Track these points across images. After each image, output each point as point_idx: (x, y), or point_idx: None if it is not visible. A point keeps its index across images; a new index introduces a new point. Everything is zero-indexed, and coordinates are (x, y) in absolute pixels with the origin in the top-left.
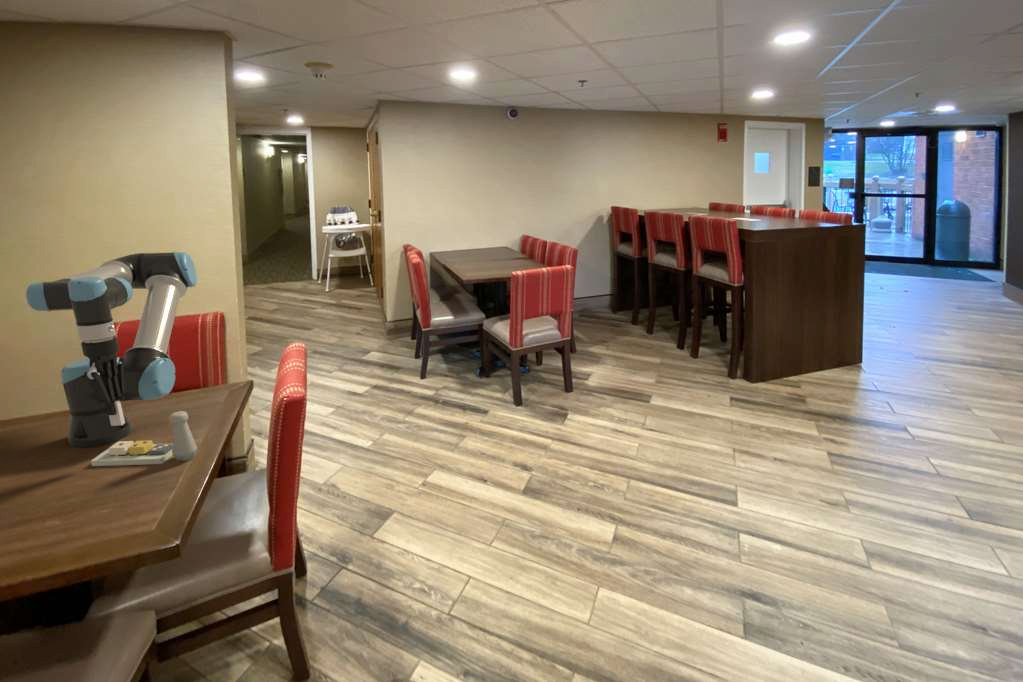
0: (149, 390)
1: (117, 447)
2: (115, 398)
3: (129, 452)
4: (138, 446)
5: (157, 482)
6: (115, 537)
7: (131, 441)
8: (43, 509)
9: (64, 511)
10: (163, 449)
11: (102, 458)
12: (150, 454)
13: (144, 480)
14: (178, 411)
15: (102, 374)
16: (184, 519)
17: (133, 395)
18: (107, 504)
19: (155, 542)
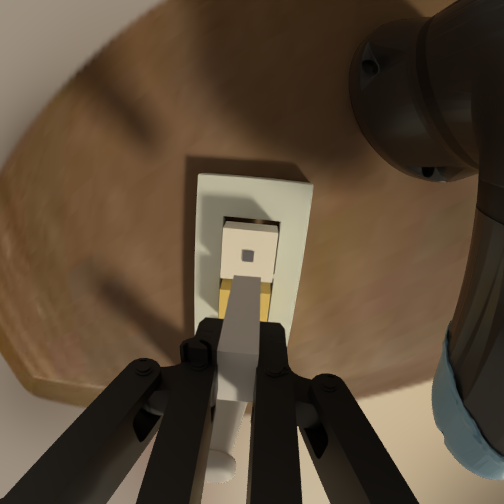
0: (435, 394)
1: (224, 255)
2: (253, 396)
3: (222, 282)
4: (223, 315)
5: (121, 360)
6: (11, 343)
7: (268, 278)
8: (28, 197)
9: (26, 243)
10: None
11: (212, 202)
12: None
13: (126, 338)
14: (223, 477)
15: None
16: (55, 400)
17: (457, 314)
18: (51, 306)
19: (21, 380)
